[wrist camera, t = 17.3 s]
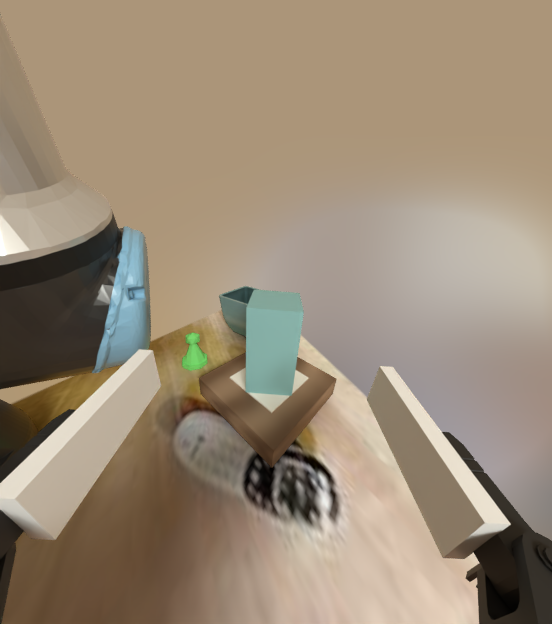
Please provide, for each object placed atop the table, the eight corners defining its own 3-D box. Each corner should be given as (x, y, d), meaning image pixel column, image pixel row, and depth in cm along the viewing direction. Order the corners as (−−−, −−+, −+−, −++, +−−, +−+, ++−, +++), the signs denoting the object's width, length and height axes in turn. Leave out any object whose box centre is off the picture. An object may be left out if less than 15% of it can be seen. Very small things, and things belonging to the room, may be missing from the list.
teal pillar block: (245, 392, 26) (246, 307, 21) (252, 362, 31) (253, 289, 26) (291, 395, 26) (303, 312, 21) (290, 365, 31) (299, 293, 26)
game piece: (178, 360, 35) (173, 331, 33) (201, 351, 38) (198, 324, 36) (187, 374, 33) (183, 343, 30) (212, 363, 35) (210, 334, 33)
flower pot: (219, 332, 45) (217, 294, 41) (245, 318, 52) (245, 285, 48) (250, 346, 41) (251, 305, 37) (273, 329, 48) (276, 293, 44)
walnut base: (200, 393, 29) (198, 376, 28) (266, 353, 39) (267, 339, 38) (271, 468, 21) (273, 449, 20) (332, 393, 31) (336, 377, 30)
